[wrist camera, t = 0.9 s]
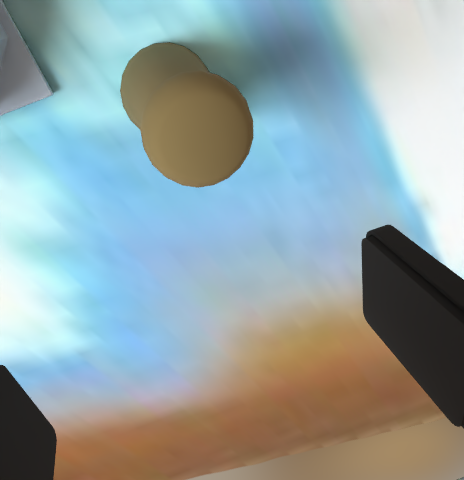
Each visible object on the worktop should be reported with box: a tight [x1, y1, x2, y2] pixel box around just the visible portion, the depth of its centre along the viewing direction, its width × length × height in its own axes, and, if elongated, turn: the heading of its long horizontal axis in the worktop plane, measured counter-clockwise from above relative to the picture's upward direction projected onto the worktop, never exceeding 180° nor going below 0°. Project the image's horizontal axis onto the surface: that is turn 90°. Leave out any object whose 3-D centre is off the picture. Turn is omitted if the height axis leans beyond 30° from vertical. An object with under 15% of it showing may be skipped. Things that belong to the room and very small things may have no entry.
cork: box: [120, 42, 253, 187], centre depth 22 cm, size 6×6×11 cm
